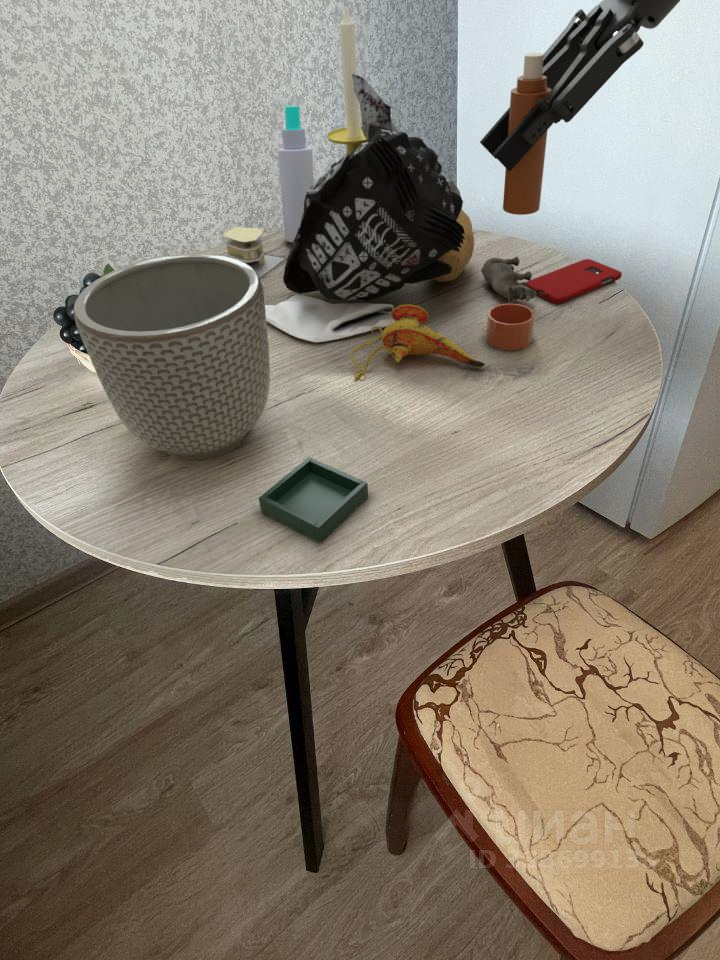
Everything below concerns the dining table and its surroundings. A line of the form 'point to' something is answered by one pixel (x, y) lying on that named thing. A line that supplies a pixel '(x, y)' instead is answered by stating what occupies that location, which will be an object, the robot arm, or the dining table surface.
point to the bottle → (528, 172)
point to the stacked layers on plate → (250, 249)
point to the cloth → (326, 318)
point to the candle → (349, 90)
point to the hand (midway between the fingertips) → (494, 156)
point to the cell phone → (573, 280)
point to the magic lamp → (413, 339)
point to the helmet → (375, 215)
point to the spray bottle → (294, 172)
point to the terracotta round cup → (510, 326)
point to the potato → (460, 258)
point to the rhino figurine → (507, 279)
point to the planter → (180, 350)
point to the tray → (314, 498)
